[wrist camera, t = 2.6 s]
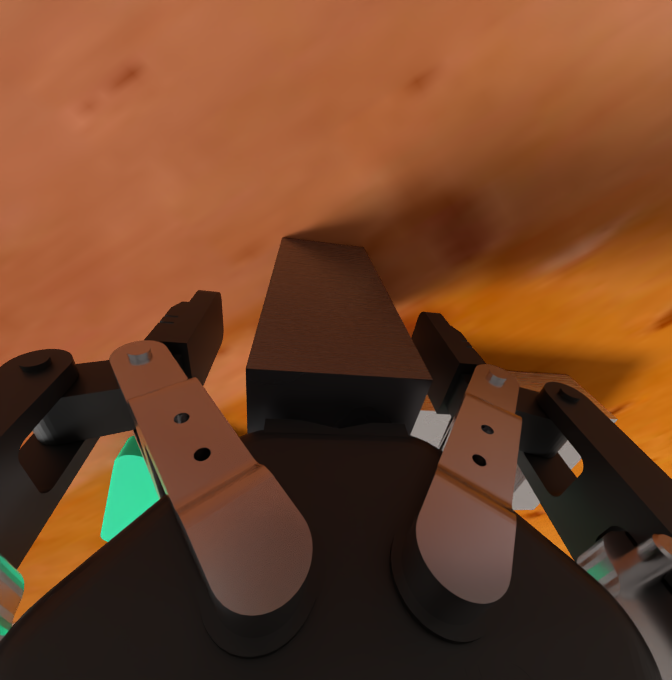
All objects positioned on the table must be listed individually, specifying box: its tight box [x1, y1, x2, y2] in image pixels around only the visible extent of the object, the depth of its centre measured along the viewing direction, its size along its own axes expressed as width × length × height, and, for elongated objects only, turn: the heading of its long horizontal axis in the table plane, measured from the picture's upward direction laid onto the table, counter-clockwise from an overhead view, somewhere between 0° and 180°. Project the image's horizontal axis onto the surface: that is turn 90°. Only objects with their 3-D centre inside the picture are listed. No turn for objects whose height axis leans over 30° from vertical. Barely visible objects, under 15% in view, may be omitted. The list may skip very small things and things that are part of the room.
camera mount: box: [101, 436, 159, 542], centre depth 20 cm, size 12×8×10 cm, turn 153°
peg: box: [246, 238, 433, 435], centre depth 12 cm, size 4×4×10 cm
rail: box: [410, 371, 618, 510], centre depth 21 cm, size 10×20×4 cm, turn 82°
